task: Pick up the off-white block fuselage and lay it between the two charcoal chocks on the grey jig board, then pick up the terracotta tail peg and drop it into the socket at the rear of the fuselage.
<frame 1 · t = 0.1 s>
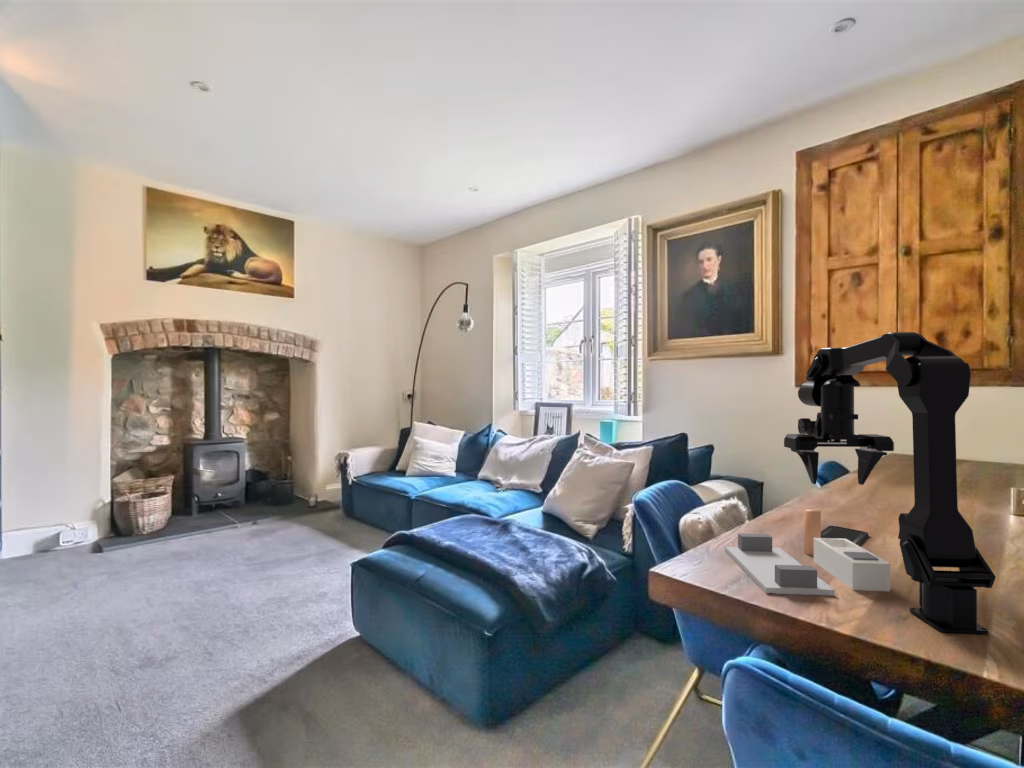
hand: (837, 484, 99), 15 cm above the table, tool pointing down, fingers open, 9 cm apart
jig board: (773, 570, 91), on the table
fuselage: (848, 576, 89), on the table
tail peg: (812, 553, 100), on the table
phone: (840, 541, 109), on the table
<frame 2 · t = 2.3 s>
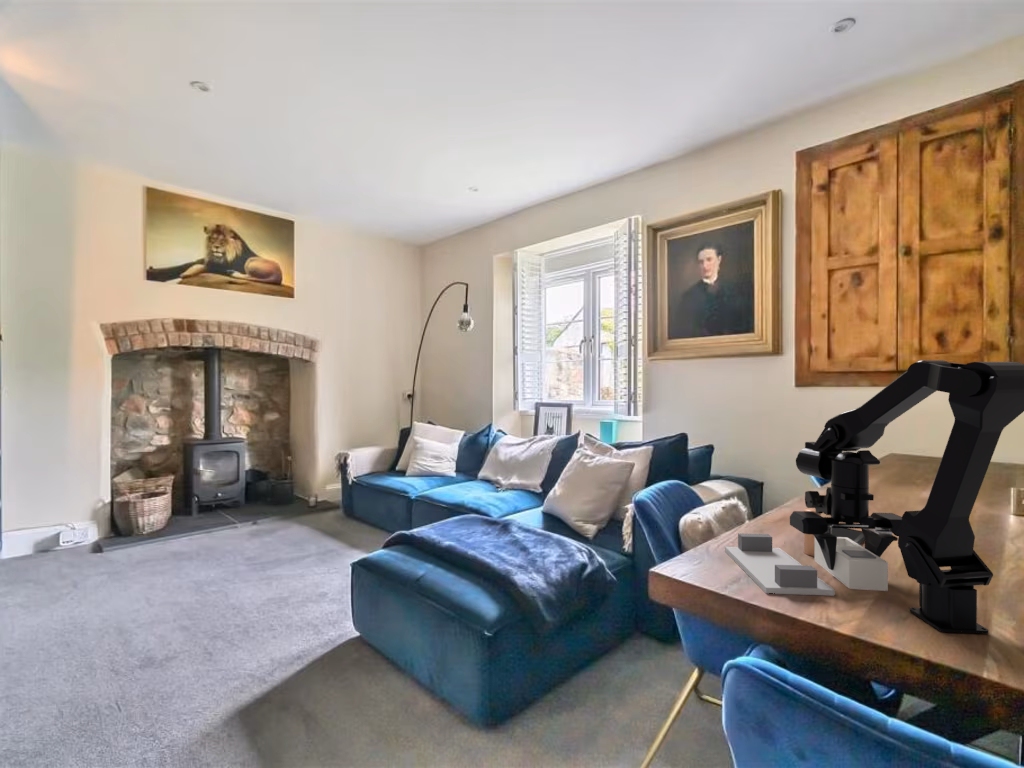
hand: (849, 569, 89), 1 cm above the table, tool pointing down, fingers closed on fuselage, 6 cm apart
fuselage: (848, 575, 89), on the table, touching gripper
everything else where it was.
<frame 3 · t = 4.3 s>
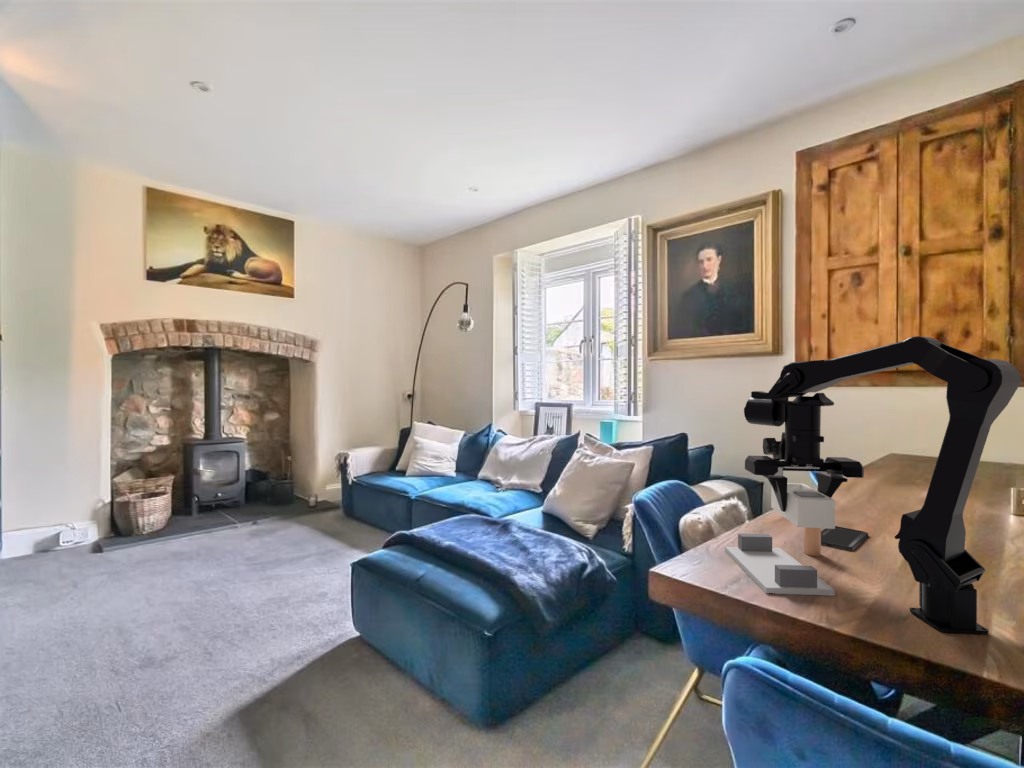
hand: (801, 511, 90), 11 cm above the table, tool pointing down, fingers closed on fuselage, 6 cm apart
fuselage: (800, 517, 91), point 10 cm above the table, touching gripper
everything else where it was.
when the fingers open (3 cm above the table, at t = 6.5 s): fuselage drops 1 cm, resting on jig board.
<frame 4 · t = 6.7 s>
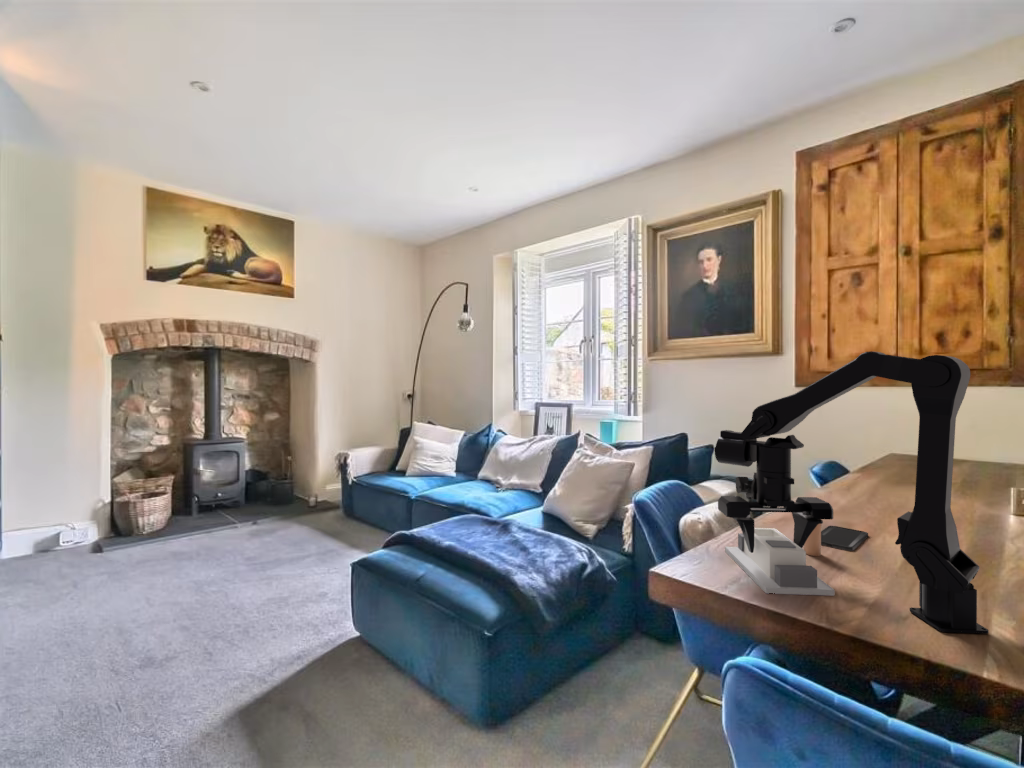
hand: (773, 552, 91), 3 cm above the table, tool pointing down, fingers open, 8 cm apart
fuselage: (772, 564, 91), point 1 cm above the table, touching jig board
everything else where it was.
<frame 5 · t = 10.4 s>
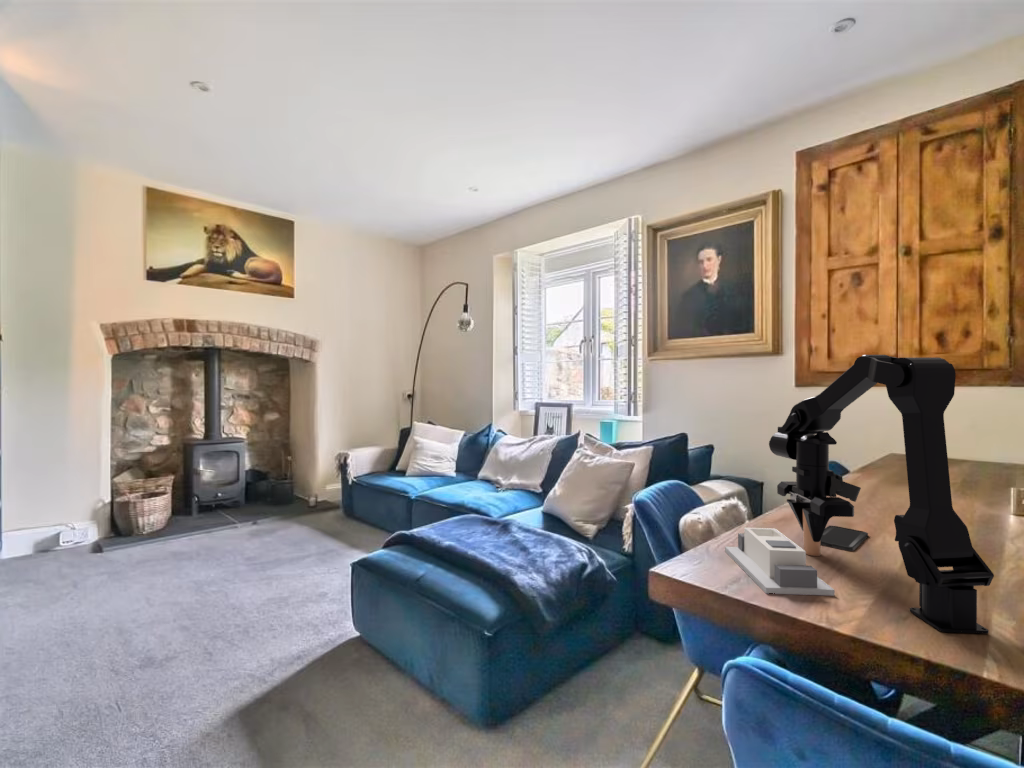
hand: (812, 538, 100), 3 cm above the table, tool pointing down, fingers closed on tail peg, 3 cm apart
tail peg: (812, 553, 100), on the table, touching gripper
everything else where it was.
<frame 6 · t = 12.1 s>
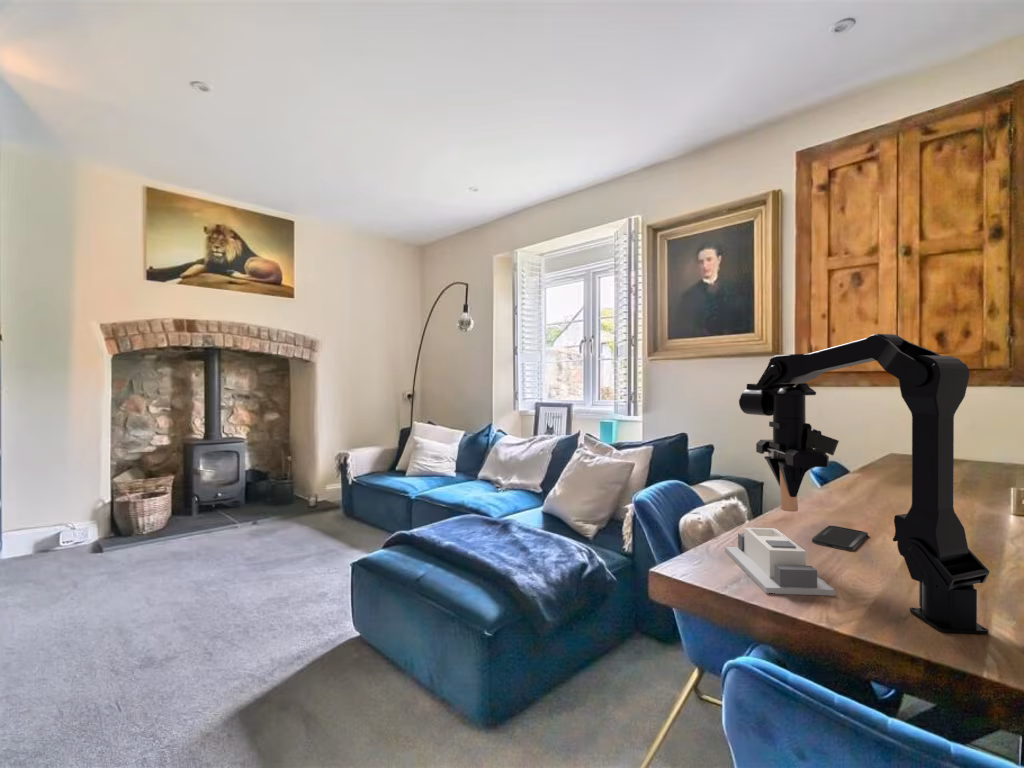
hand: (789, 494, 97), 13 cm above the table, tool pointing down, fingers closed on tail peg, 3 cm apart
tail peg: (789, 509, 97), point 10 cm above the table, touching gripper
everything else where it was.
when the fingers open (7 cm above the table, at t = 14.1 s): tail peg stays where it is, resting on fuselage.
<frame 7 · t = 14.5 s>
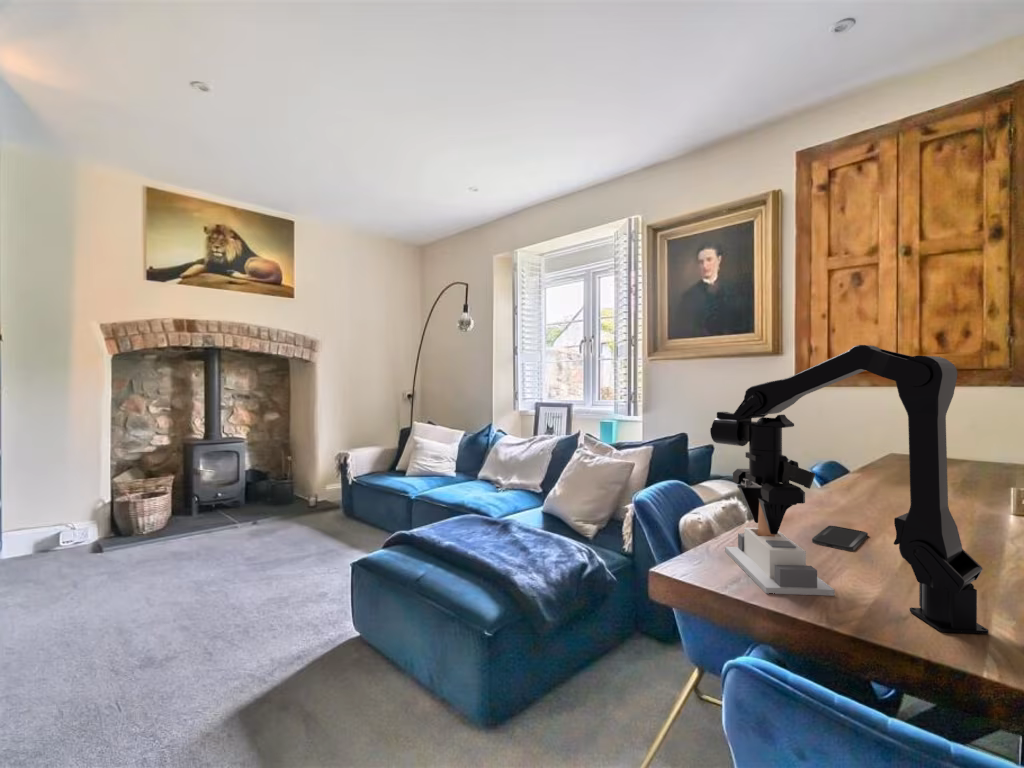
hand: (765, 528, 94), 7 cm above the table, tool pointing down, fingers open, 7 cm apart
fuselage: (772, 564, 91), point 1 cm above the table, touching jig board, tail peg
tail peg: (765, 548, 94), point 3 cm above the table, touching fuselage
everything else where it was.
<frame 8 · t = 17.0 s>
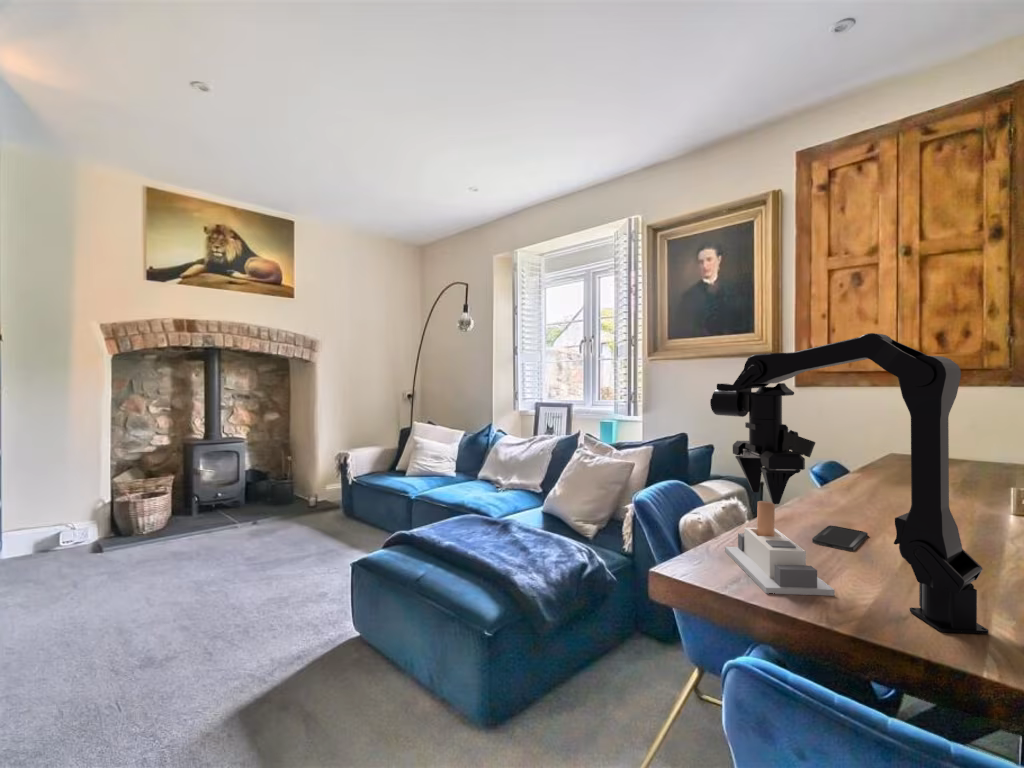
hand: (765, 497, 94), 13 cm above the table, tool pointing down, fingers open, 9 cm apart
nothing on the table moved.
at the end: fuselage 0.4 cm off-centre on the jig board, point 1.0 cm above the jig board's base; tail peg 0.4 cm from the target spot on the fuselage, point 2.0 cm above the fuselage's base; tail peg tilted 1° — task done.
